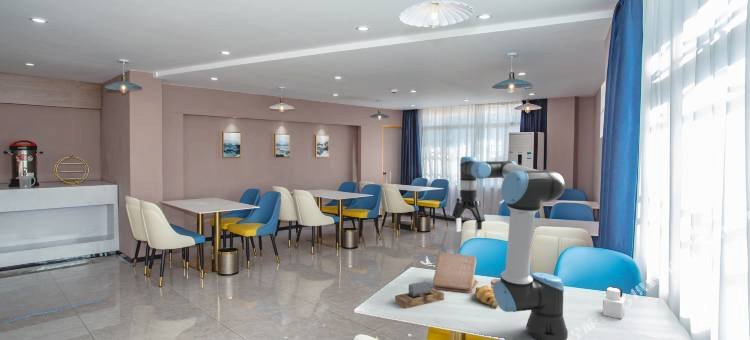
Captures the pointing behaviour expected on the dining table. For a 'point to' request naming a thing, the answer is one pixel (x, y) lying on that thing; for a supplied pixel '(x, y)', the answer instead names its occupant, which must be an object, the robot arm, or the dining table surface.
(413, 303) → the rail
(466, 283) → the case
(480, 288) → the croissant
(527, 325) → the robot arm
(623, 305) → the medicine bottle
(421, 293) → the grey bridge block
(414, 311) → the dining table surface
